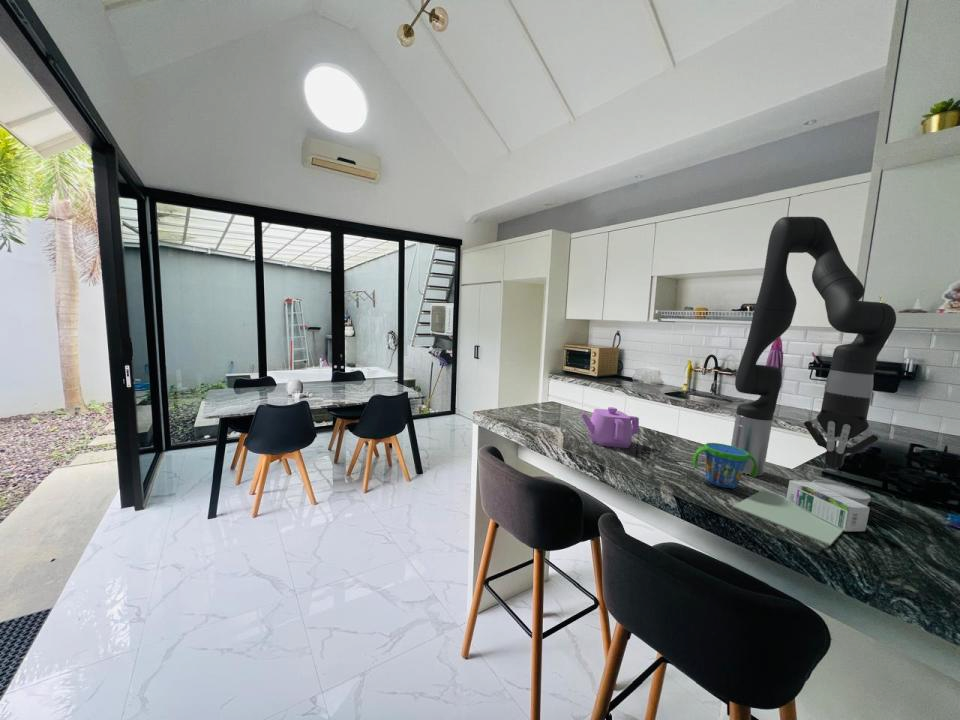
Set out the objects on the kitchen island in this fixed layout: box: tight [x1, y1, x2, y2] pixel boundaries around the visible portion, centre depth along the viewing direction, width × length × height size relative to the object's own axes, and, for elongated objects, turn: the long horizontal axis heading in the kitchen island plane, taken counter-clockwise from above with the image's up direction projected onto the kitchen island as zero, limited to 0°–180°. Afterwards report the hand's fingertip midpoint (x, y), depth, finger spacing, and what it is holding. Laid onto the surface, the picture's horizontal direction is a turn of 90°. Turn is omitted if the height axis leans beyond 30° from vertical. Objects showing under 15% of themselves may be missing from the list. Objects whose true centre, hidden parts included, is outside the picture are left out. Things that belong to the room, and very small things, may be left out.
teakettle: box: [580, 406, 640, 449], centre depth 140 cm, size 17×17×12 cm
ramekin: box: [811, 479, 872, 507], centre depth 99 cm, size 11×11×5 cm
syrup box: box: [786, 479, 870, 532], centre depth 93 cm, size 6×6×14 cm
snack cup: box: [692, 442, 757, 490], centre depth 108 cm, size 16×10×10 cm
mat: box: [732, 489, 845, 547], centre depth 93 cm, size 20×18×1 cm
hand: (832, 467), depth 88 cm, fingers closed
